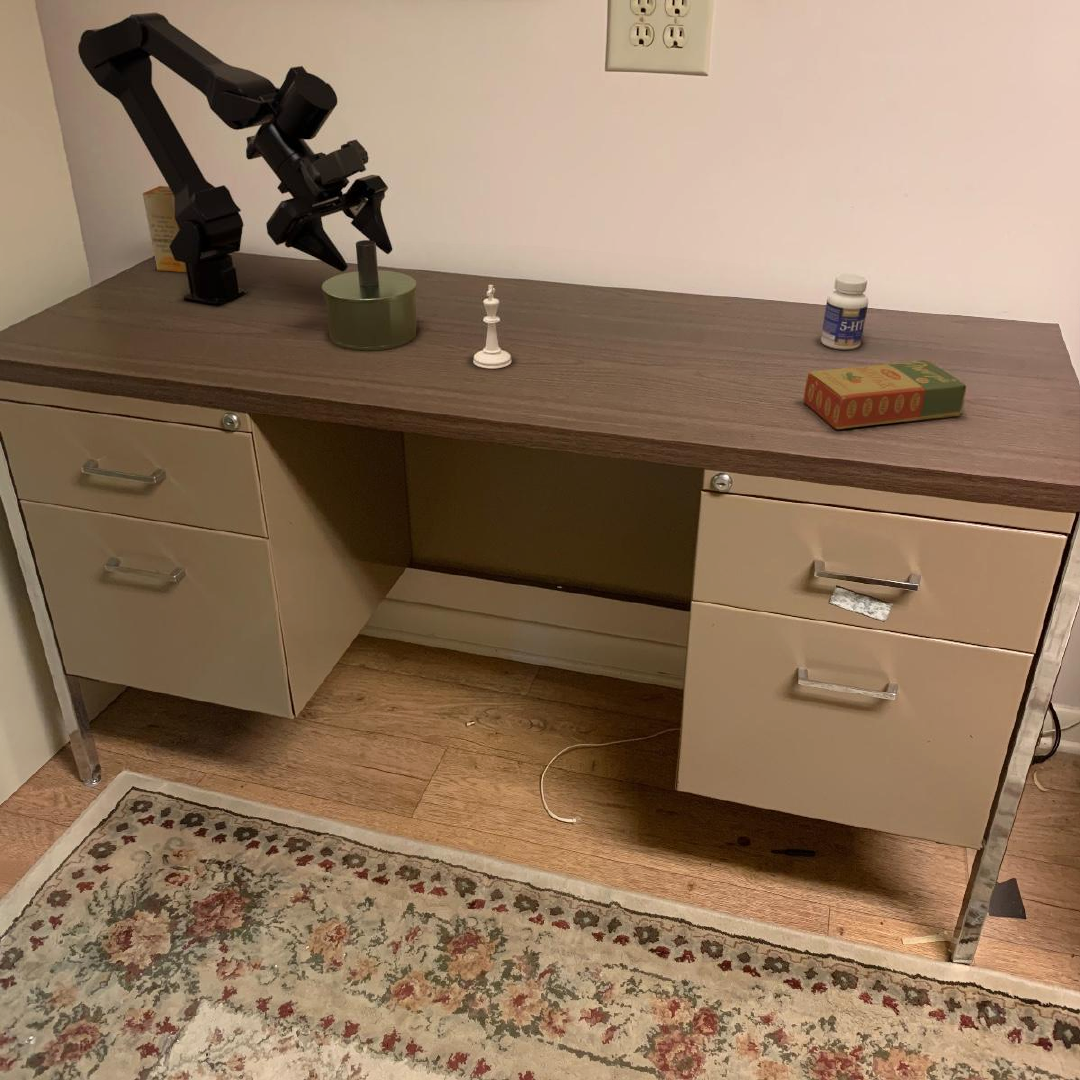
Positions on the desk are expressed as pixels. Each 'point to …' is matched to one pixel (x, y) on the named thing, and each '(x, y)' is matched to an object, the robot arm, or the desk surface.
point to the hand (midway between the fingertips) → (368, 260)
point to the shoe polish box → (162, 227)
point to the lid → (368, 280)
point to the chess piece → (491, 338)
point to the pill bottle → (845, 313)
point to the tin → (372, 323)
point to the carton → (884, 394)
